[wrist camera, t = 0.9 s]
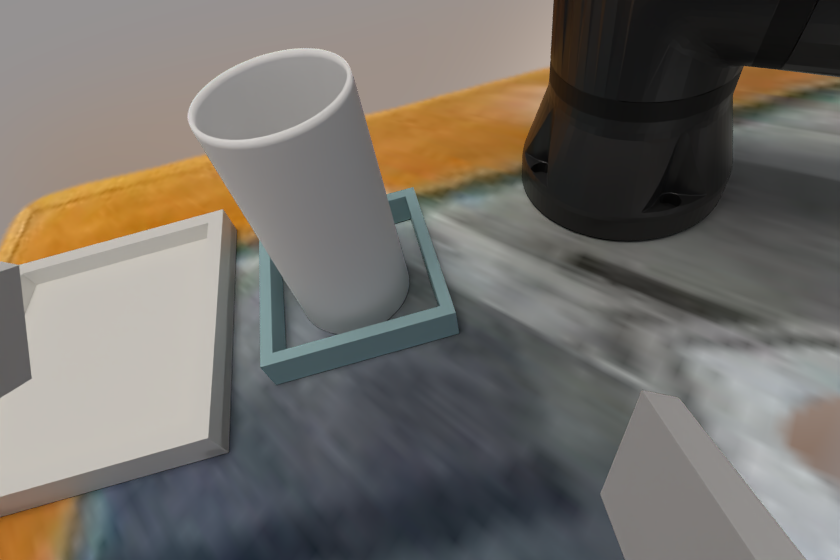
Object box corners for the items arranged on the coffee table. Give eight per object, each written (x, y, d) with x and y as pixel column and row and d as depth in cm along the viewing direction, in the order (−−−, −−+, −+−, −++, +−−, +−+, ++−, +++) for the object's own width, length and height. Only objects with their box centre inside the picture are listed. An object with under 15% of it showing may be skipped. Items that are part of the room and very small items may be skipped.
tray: (35, 285, 41) (12, 266, 39) (236, 230, 41) (223, 209, 39) (-62, 534, 28) (-104, 526, 26) (228, 452, 29) (208, 438, 27)
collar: (271, 250, 39) (259, 229, 37) (418, 210, 39) (413, 187, 37) (276, 384, 31) (260, 367, 29) (459, 333, 31) (455, 312, 29)
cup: (430, 266, 35) (385, 59, 23) (366, 353, 32) (271, 160, 19) (346, 234, 39) (267, 39, 26) (280, 308, 35) (152, 121, 23)
